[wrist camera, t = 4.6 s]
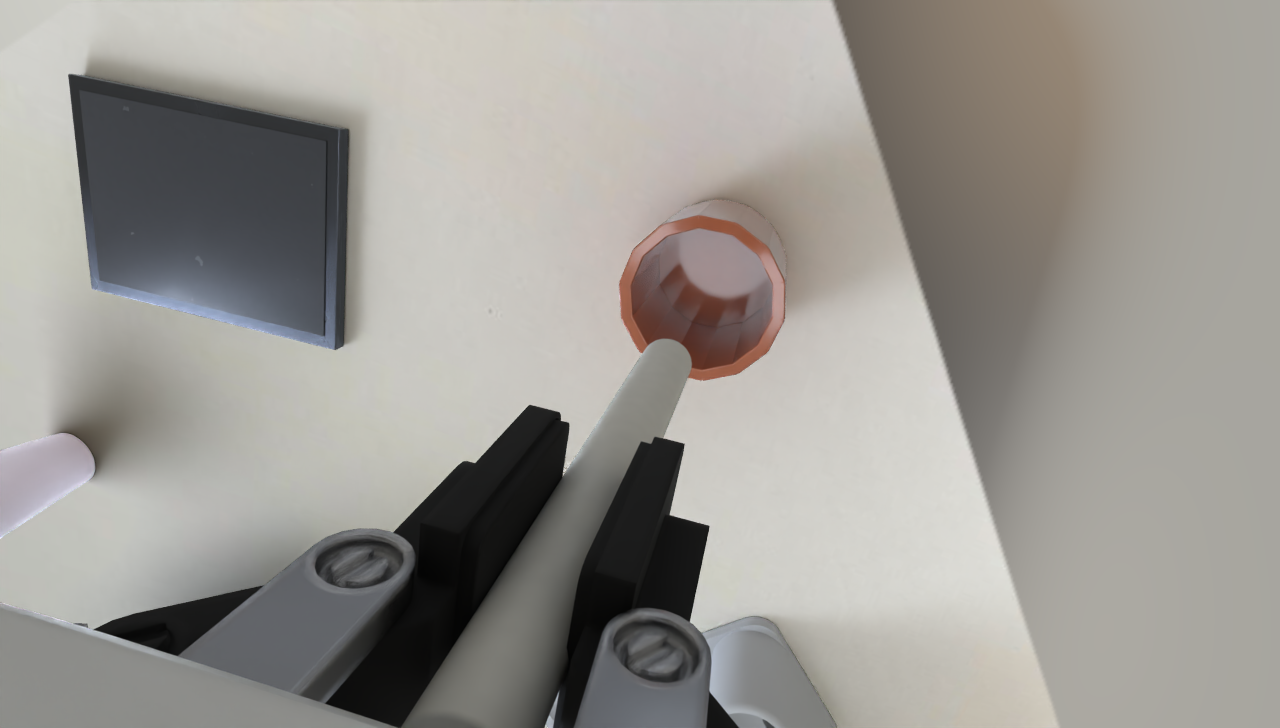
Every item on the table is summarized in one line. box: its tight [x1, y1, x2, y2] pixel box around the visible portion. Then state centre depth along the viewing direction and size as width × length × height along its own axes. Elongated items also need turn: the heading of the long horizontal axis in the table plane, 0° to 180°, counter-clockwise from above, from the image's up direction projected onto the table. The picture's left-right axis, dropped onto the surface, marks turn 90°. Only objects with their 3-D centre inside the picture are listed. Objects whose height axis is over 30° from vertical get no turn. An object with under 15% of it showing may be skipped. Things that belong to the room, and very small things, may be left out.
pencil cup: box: [619, 199, 787, 381], centre depth 31 cm, size 7×7×7 cm
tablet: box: [68, 74, 348, 350], centre depth 38 cm, size 12×16×1 cm
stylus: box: [401, 339, 692, 728], centre depth 14 cm, size 1×1×14 cm
